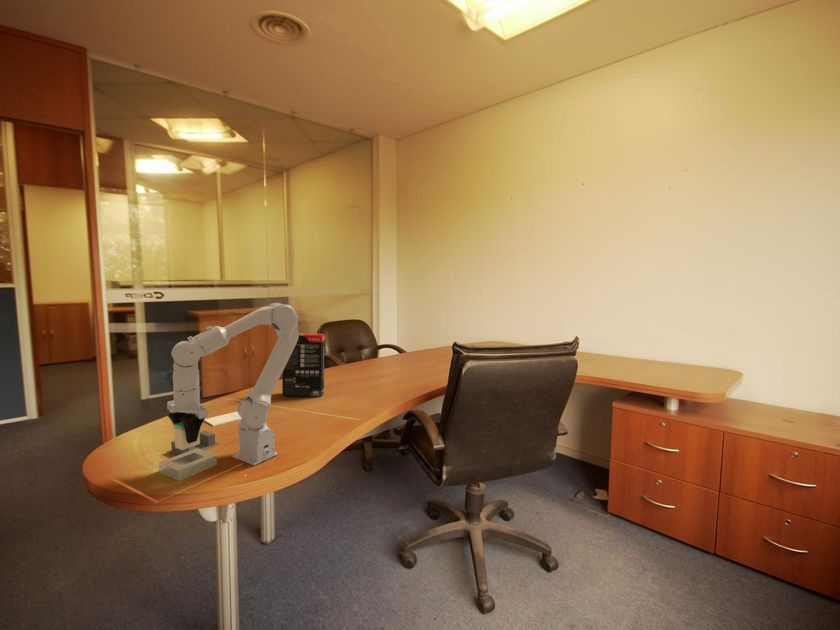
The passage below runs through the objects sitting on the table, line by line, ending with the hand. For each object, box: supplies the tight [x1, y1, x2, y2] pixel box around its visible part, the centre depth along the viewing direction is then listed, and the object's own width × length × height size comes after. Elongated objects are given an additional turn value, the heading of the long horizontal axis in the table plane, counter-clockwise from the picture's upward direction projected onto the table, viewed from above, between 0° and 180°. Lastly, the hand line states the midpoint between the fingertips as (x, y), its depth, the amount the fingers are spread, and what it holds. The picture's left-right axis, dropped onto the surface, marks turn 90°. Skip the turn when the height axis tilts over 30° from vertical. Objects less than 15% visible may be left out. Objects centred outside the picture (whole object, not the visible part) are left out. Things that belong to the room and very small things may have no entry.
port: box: [158, 448, 218, 482], centre depth 100 cm, size 9×10×3 cm
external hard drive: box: [203, 411, 242, 427], centre depth 137 cm, size 2×8×12 cm
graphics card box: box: [281, 332, 326, 398], centre depth 168 cm, size 17×7×27 cm, turn 94°
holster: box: [166, 430, 220, 456], centre depth 112 cm, size 8×11×4 cm
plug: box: [173, 422, 201, 450], centre depth 99 cm, size 3×4×6 cm
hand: (187, 440), depth 100 cm, fingers closed on plug, 3 cm apart
